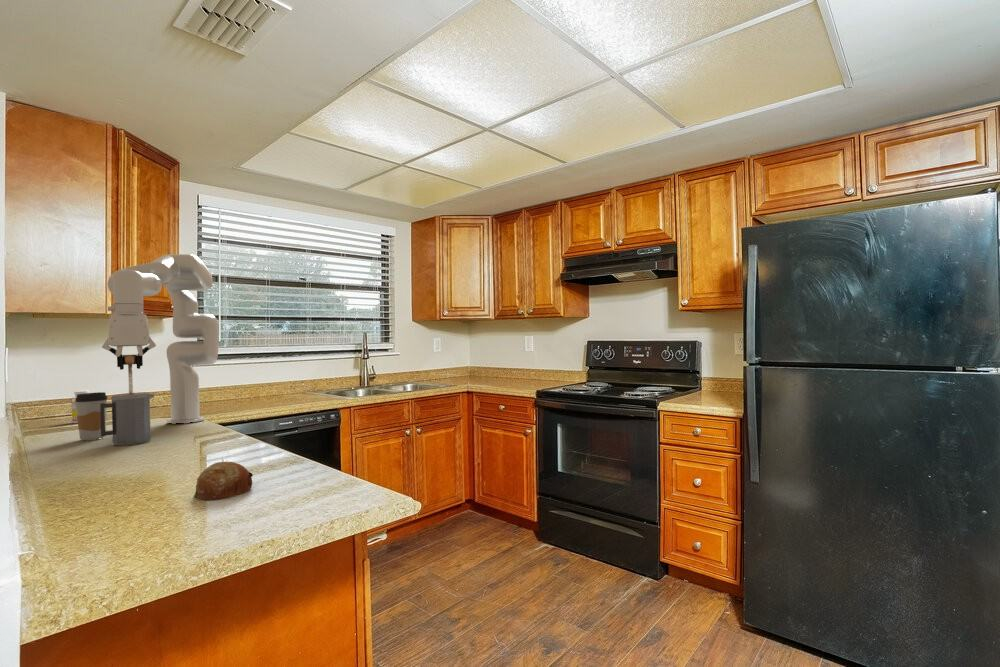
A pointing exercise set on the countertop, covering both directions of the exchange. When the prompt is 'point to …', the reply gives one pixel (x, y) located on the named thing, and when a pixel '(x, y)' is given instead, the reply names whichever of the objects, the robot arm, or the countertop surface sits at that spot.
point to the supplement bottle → (74, 408)
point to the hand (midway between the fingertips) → (130, 368)
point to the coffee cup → (89, 414)
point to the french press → (128, 418)
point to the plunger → (130, 368)
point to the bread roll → (223, 481)
